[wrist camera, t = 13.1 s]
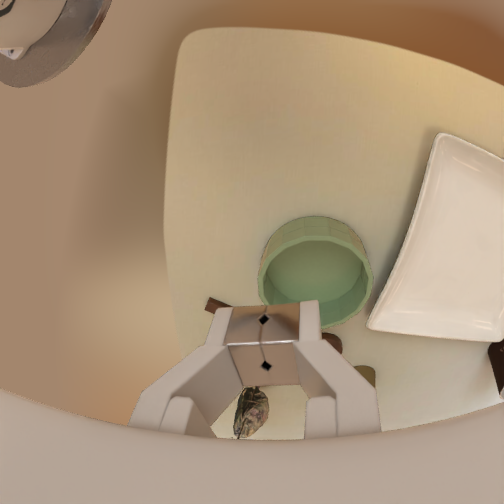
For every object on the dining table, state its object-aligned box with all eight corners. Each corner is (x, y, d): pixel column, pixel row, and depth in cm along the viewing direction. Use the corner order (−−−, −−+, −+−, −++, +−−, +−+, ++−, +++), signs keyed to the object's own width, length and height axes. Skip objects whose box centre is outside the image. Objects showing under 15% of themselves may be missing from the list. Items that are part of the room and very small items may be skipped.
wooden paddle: (201, 314, 47) (199, 319, 46) (214, 286, 44) (212, 292, 43) (328, 362, 49) (328, 368, 48) (349, 340, 46) (349, 345, 45)
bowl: (249, 286, 43) (243, 310, 38) (284, 199, 36) (282, 217, 32) (336, 315, 43) (339, 340, 39) (383, 239, 37) (393, 261, 32)
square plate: (424, 124, 29) (438, 129, 25) (562, 189, 27) (577, 199, 24) (360, 314, 43) (364, 333, 39) (494, 330, 41) (502, 345, 38)
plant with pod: (229, 382, 55) (207, 479, 38) (245, 345, 49) (221, 459, 32) (271, 393, 55) (258, 490, 38) (293, 358, 49) (284, 471, 32)
